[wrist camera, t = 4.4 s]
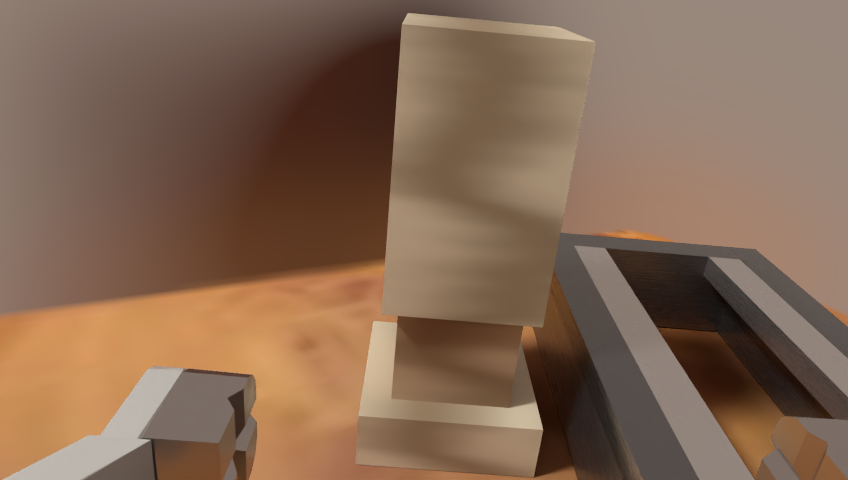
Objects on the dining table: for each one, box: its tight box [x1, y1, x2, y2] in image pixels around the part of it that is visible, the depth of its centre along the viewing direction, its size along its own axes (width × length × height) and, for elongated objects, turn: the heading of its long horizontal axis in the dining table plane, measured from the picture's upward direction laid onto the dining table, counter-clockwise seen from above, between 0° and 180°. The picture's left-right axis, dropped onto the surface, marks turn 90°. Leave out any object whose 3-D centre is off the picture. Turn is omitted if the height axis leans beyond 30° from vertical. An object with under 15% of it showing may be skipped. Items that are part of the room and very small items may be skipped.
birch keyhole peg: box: [356, 13, 596, 477], centre depth 21 cm, size 6×6×14 cm
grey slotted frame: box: [533, 233, 848, 480], centre depth 19 cm, size 11×28×4 cm, turn 0°
